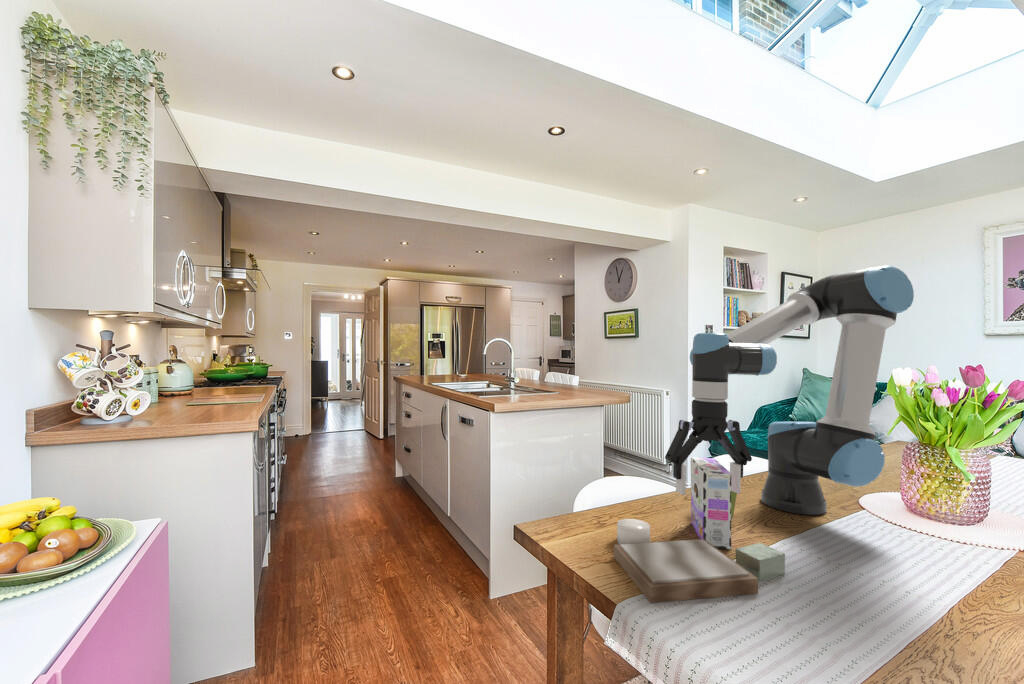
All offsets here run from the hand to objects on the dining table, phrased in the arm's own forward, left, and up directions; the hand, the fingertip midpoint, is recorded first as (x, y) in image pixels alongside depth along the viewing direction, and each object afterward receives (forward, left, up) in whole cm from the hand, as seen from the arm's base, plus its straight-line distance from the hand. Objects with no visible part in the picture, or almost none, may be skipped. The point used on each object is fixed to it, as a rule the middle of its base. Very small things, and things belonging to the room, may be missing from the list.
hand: (708, 492), depth 99 cm
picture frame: (+16, +15, -10) cm, 24 cm away
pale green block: (0, +16, -10) cm, 19 cm away
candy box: (0, 0, -10) cm, 10 cm away
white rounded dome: (+19, +1, -10) cm, 21 cm away
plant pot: (-11, -12, -10) cm, 19 cm away
